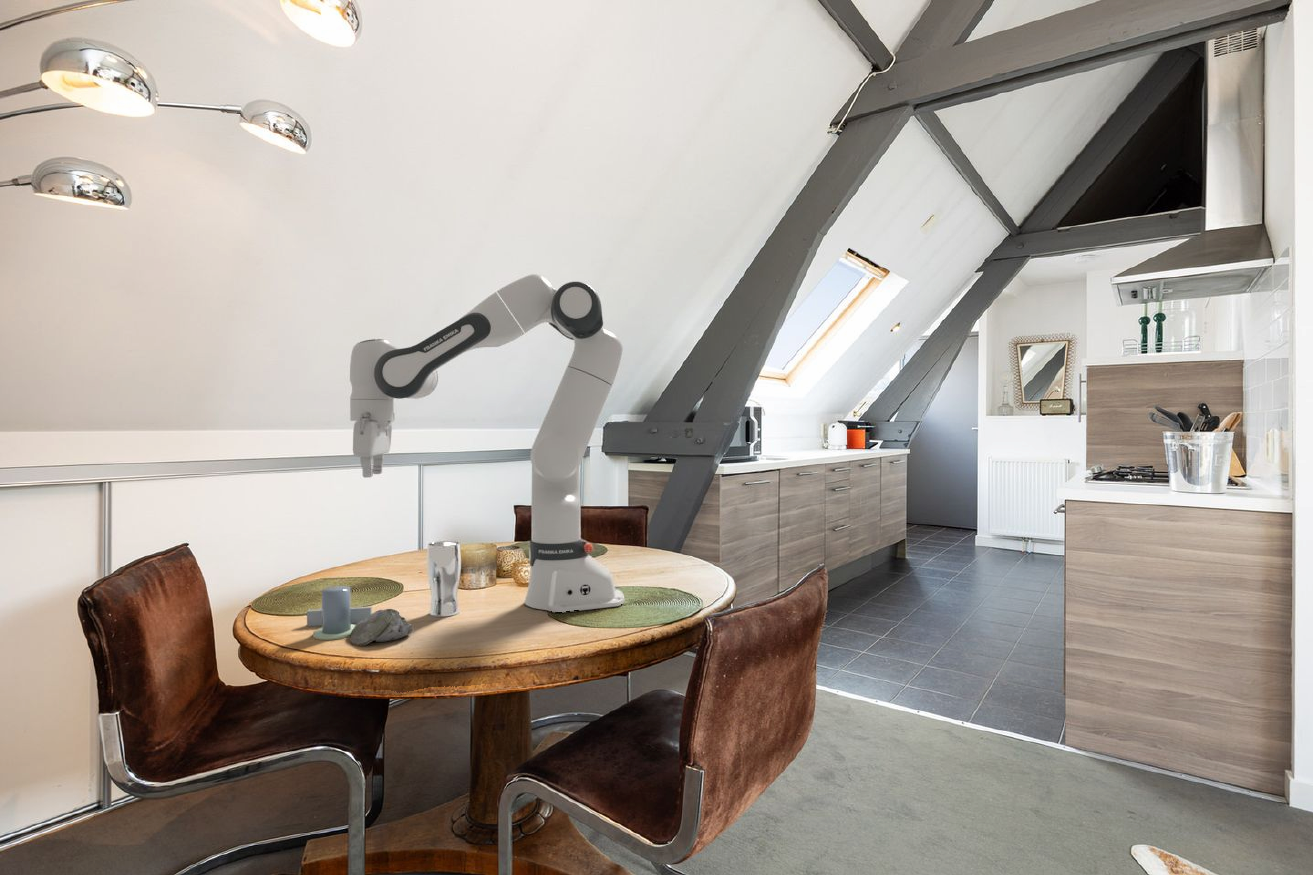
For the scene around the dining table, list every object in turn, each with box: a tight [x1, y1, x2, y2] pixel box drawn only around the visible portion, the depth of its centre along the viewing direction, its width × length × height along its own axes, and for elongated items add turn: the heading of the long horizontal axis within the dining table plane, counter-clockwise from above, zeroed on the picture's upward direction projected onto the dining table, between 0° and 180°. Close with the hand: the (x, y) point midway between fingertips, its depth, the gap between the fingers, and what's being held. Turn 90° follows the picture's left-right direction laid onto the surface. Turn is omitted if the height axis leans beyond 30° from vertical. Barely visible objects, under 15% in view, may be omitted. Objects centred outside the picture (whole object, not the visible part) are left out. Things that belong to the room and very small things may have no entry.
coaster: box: [312, 624, 356, 641], centre depth 128 cm, size 8×8×1 cm
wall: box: [306, 606, 373, 627], centre depth 134 cm, size 12×1×3 cm, turn 101°
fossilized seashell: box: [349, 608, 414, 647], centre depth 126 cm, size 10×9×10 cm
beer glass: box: [426, 540, 462, 618], centre depth 141 cm, size 7×7×15 cm
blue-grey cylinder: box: [321, 585, 352, 634], centre depth 128 cm, size 5×5×8 cm
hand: (372, 475), depth 147 cm, fingers open, 8 cm apart
